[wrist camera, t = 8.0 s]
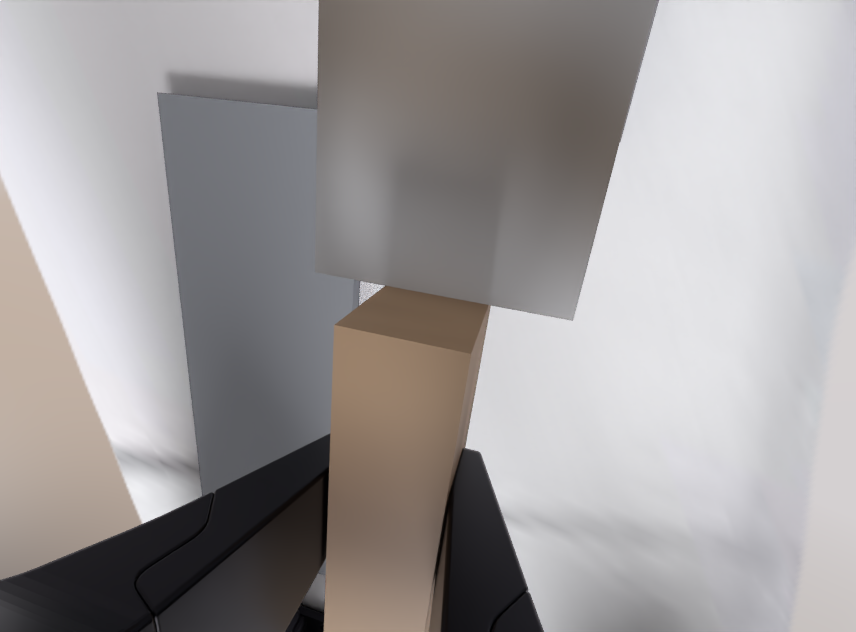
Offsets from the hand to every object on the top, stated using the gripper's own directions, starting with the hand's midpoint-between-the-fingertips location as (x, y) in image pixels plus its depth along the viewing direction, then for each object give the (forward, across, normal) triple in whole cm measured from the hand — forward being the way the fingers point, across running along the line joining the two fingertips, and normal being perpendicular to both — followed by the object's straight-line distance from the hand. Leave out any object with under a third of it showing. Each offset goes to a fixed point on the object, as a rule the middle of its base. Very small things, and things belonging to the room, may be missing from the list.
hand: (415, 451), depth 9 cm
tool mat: (+7, +8, +4) cm, 12 cm away
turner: (+1, 0, -2) cm, 2 cm away
